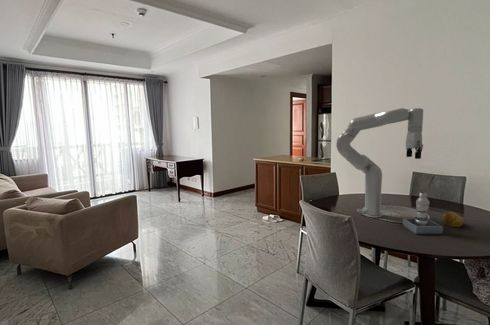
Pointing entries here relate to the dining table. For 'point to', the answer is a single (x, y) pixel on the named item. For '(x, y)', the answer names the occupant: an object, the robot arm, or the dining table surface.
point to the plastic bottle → (422, 210)
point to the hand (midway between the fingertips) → (413, 157)
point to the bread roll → (452, 219)
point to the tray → (423, 227)
